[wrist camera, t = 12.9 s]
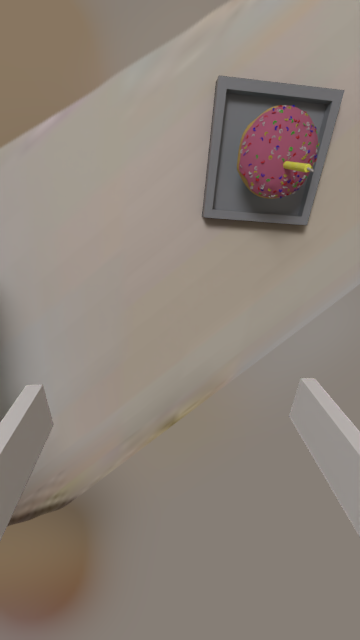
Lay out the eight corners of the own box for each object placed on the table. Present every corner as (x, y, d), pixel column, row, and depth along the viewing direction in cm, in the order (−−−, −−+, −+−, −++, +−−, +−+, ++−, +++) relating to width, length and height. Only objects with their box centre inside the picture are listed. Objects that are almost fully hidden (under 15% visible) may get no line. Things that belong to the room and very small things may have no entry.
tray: (202, 216, 34) (203, 217, 33) (216, 82, 28) (218, 75, 27) (300, 223, 35) (306, 225, 34) (334, 96, 29) (344, 90, 28)
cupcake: (299, 187, 33) (362, 183, 22) (235, 207, 34) (267, 212, 23) (293, 106, 29) (367, 54, 18) (222, 131, 30) (252, 94, 19)
